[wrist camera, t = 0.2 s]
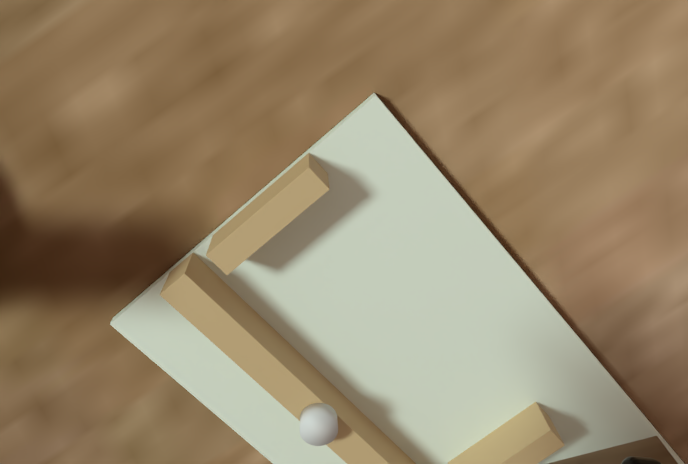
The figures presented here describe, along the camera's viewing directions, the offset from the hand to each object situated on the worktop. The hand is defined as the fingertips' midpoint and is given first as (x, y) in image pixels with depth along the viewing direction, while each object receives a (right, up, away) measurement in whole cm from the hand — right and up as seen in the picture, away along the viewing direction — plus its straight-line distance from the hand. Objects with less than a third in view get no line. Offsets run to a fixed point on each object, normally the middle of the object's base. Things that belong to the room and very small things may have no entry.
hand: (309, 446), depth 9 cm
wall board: (+6, -6, +19) cm, 21 cm away
